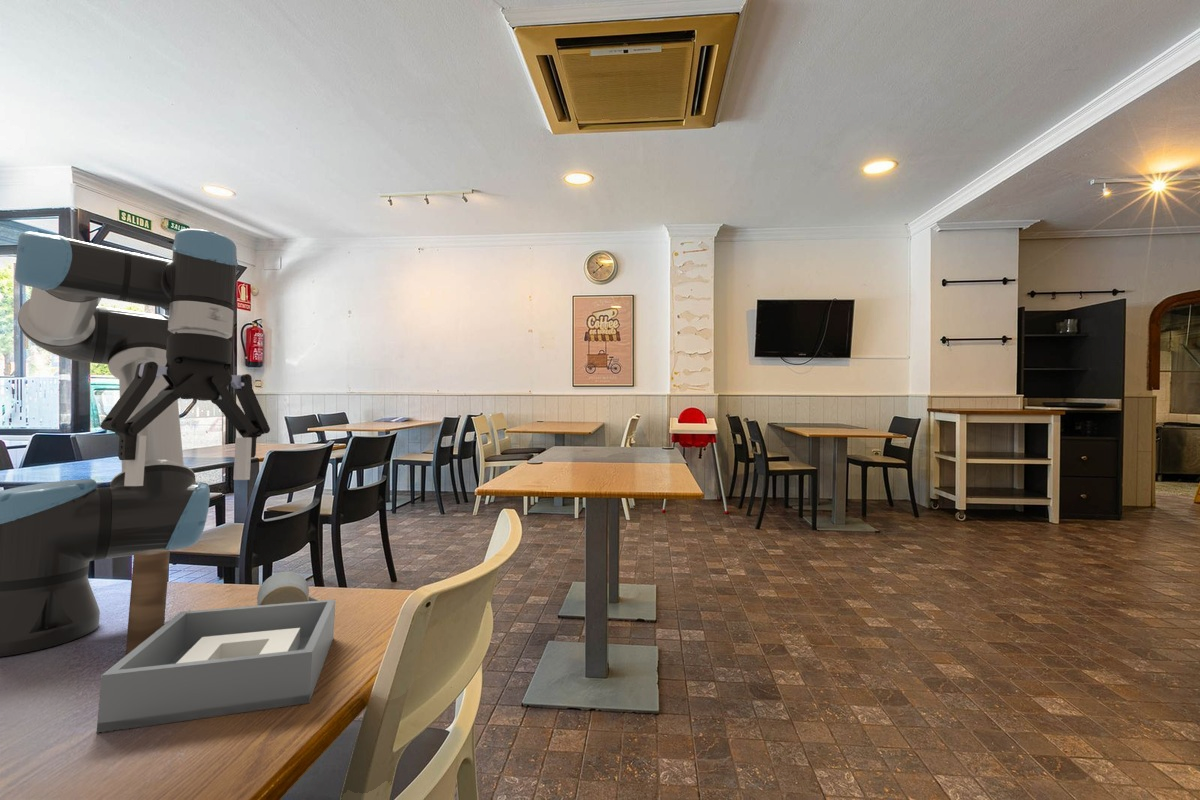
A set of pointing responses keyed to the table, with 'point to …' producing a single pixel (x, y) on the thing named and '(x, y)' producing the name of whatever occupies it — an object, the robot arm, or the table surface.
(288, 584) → the ceramic mug
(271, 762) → the table surface
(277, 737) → the table surface
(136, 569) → the walnut peg
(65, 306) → the robot arm
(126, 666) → the grey box
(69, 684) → the table surface
